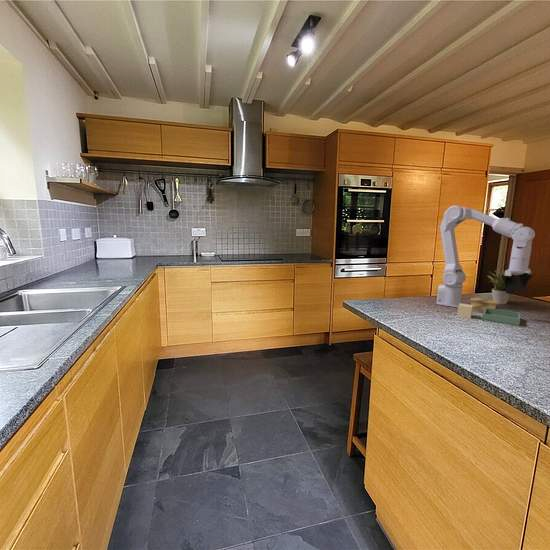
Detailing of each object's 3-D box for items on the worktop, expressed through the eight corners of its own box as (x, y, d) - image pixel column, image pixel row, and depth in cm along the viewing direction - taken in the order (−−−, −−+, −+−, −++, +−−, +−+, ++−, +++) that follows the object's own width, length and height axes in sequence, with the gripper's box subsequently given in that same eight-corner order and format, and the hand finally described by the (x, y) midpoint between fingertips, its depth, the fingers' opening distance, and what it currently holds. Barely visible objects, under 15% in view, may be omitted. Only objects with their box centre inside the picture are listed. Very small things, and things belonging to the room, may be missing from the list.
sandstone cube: (457, 316, 118) (458, 305, 118) (458, 313, 122) (460, 303, 121) (470, 318, 116) (471, 307, 115) (471, 316, 119) (473, 305, 118)
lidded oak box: (469, 310, 126) (470, 299, 125) (470, 307, 131) (472, 296, 130) (495, 314, 121) (496, 303, 120) (496, 311, 125) (497, 300, 124)
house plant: (516, 301, 144) (521, 267, 141) (526, 308, 131) (531, 271, 129) (481, 298, 150) (485, 265, 147) (487, 304, 137) (492, 269, 134)
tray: (482, 319, 114) (483, 313, 113) (484, 313, 122) (485, 307, 122) (519, 326, 107) (520, 319, 107) (518, 318, 116) (519, 312, 115)
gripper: (522, 260, 108) (516, 296, 110) (541, 258, 114) (535, 293, 117) (500, 258, 114) (495, 292, 116) (520, 257, 120) (515, 289, 123)
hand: (514, 292), depth 117 cm, fingers open, 7 cm apart
